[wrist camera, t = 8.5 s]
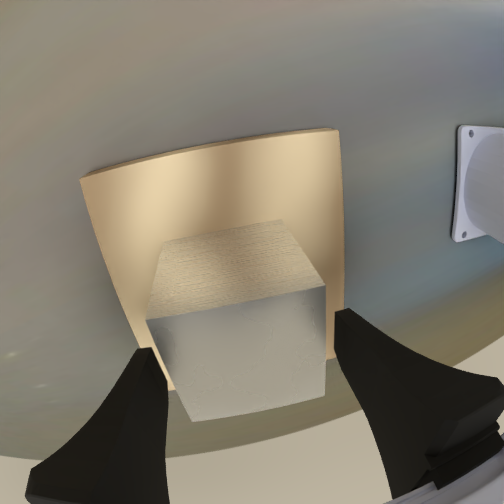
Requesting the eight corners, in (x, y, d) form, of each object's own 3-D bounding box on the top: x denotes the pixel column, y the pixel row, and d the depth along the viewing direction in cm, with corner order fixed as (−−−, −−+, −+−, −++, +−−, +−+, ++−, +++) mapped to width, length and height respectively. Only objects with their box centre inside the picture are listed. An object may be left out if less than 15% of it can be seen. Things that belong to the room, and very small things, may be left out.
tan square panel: (326, 127, 15) (390, 142, 9) (333, 341, 21) (367, 406, 16) (89, 172, 14) (34, 209, 9) (163, 375, 20) (159, 447, 15)
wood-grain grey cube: (281, 219, 15) (325, 284, 10) (290, 313, 17) (324, 395, 12) (163, 241, 14) (145, 319, 9) (191, 333, 17) (192, 421, 12)
